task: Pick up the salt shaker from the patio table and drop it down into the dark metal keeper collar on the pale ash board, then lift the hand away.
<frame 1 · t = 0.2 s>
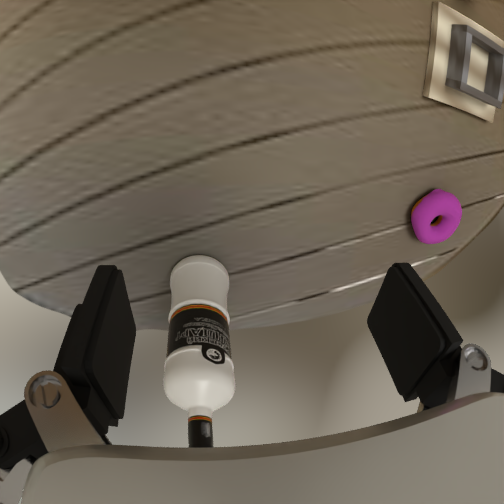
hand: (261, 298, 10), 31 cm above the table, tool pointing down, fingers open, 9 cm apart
donut: (429, 210, 47), on the table
vodka: (199, 275, 49), on the table
keeper: (465, 64, 32), on the table
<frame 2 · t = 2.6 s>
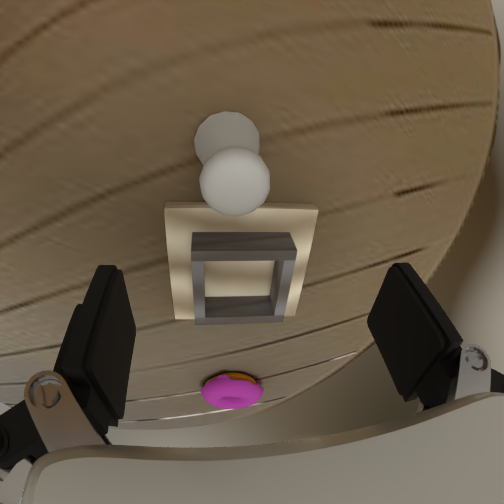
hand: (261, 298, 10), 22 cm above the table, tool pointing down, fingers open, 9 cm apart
donut: (231, 380, 52), on the table
salt shaker: (225, 136, 28), on the table
keeper: (238, 262, 37), on the table
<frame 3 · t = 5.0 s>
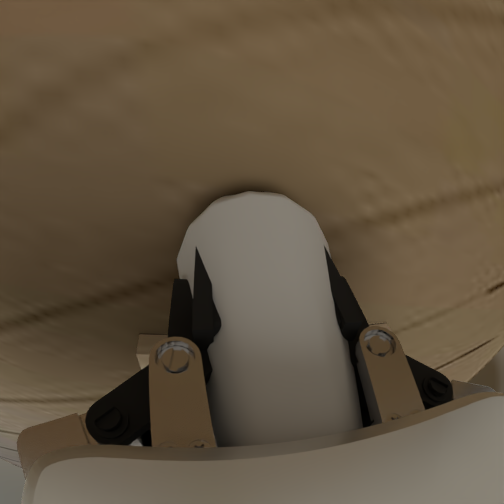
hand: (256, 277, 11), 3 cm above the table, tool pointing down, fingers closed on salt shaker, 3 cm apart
salt shaker: (247, 229, 14), on the table, touching gripper
keeper: (259, 396, 23), on the table
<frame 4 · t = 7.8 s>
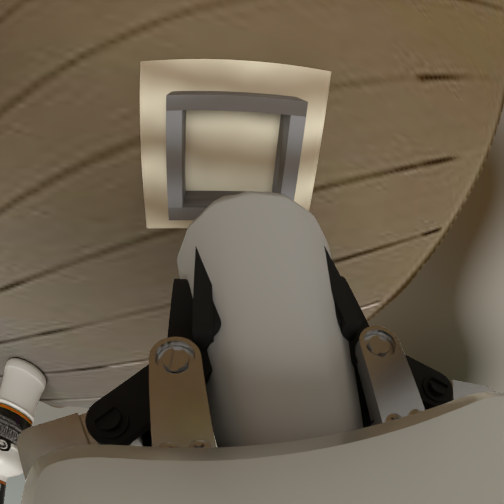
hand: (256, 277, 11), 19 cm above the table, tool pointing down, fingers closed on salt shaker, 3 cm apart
salt shaker: (247, 229, 14), point 16 cm above the table, touching gripper
vodka: (27, 369, 44), on the table
keeper: (230, 145, 27), on the table
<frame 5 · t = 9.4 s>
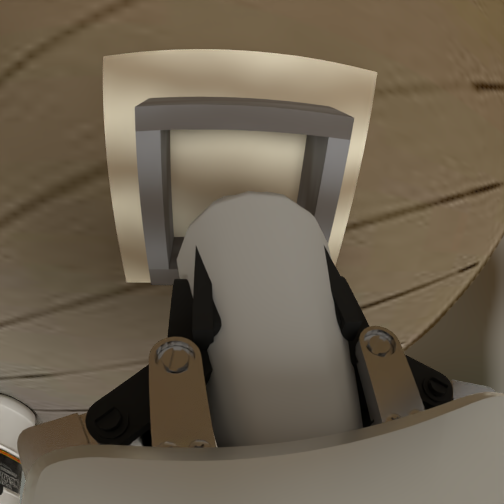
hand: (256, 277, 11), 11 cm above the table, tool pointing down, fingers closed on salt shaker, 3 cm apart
salt shaker: (247, 229, 14), point 7 cm above the table, touching gripper
vodka: (15, 404, 37), on the table
keeper: (234, 172, 20), on the table
when the fingers open (6 cm above the table, at t = 10.5 s): salt shaker drops 1 cm, resting on keeper.
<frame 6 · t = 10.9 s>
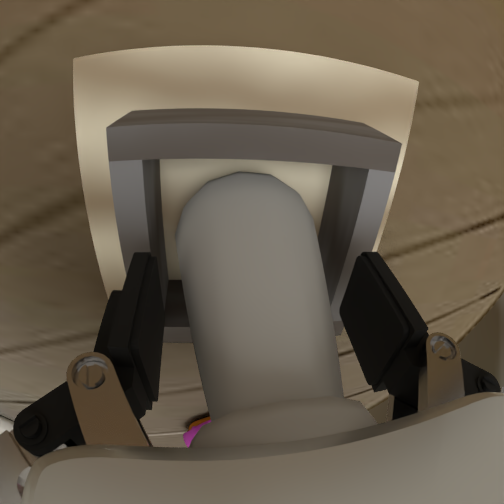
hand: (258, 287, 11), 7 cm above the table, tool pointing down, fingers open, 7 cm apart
donut: (230, 421, 32), on the table
salt shaker: (241, 211, 15), point 1 cm above the table, touching keeper
vodka: (10, 424, 34), on the table
keeper: (241, 202, 16), on the table
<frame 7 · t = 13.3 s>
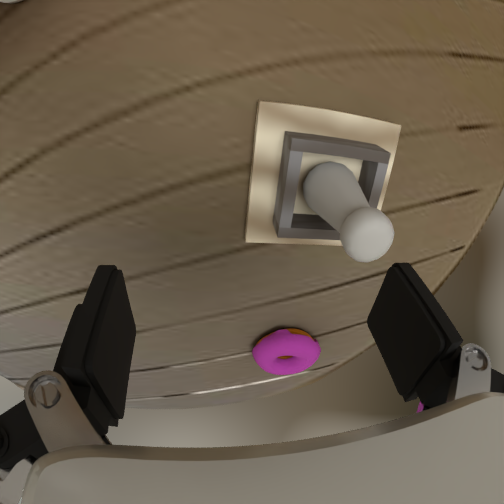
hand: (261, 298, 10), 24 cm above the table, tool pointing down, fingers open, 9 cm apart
donut: (284, 341, 49), on the table
salt shaker: (323, 180, 33), point 1 cm above the table, touching keeper
keeper: (320, 177, 34), on the table
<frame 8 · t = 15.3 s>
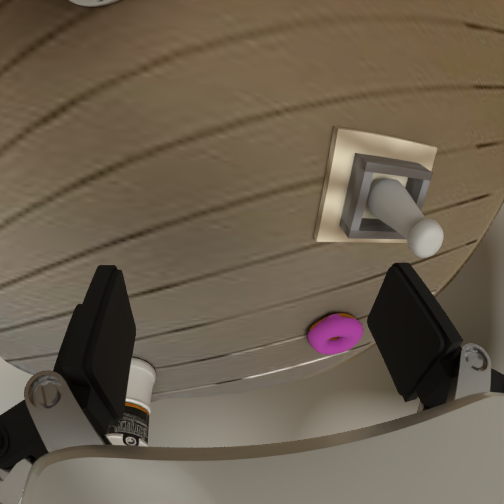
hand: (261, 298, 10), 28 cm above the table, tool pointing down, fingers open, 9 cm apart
donut: (332, 325, 56), on the table
salt shaker: (378, 191, 39), point 1 cm above the table, touching keeper
vodka: (134, 367, 58), on the table
keeper: (375, 188, 40), on the table
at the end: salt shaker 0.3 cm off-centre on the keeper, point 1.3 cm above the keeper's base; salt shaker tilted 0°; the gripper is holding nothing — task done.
